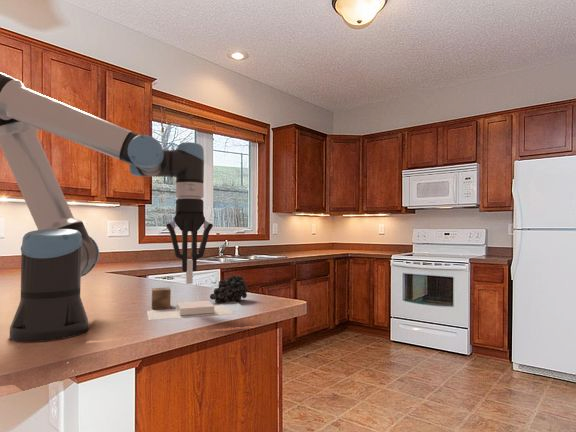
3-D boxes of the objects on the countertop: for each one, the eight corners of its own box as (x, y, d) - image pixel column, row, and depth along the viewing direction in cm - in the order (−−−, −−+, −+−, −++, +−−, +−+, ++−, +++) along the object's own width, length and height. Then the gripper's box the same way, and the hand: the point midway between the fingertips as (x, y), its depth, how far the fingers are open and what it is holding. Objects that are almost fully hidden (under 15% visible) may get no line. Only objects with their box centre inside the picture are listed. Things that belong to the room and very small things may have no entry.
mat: (148, 322, 99) (148, 320, 99) (146, 312, 110) (146, 310, 110) (233, 315, 107) (233, 313, 107) (224, 307, 118) (224, 305, 118)
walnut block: (152, 311, 112) (152, 290, 112) (151, 308, 117) (151, 288, 117) (170, 310, 114) (170, 289, 114) (168, 307, 119) (169, 287, 119)
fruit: (215, 276, 120) (248, 271, 132) (198, 283, 125) (232, 277, 137) (221, 304, 118) (255, 296, 130) (204, 310, 123) (238, 301, 135)
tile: (180, 308, 103) (214, 306, 106) (176, 302, 111) (208, 300, 115) (180, 316, 103) (214, 313, 106) (176, 309, 111) (208, 307, 115)
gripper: (166, 197, 103) (165, 286, 103) (215, 198, 108) (215, 283, 107) (164, 199, 110) (163, 282, 110) (210, 200, 115) (210, 280, 114)
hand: (189, 283), depth 108 cm, fingers closed
